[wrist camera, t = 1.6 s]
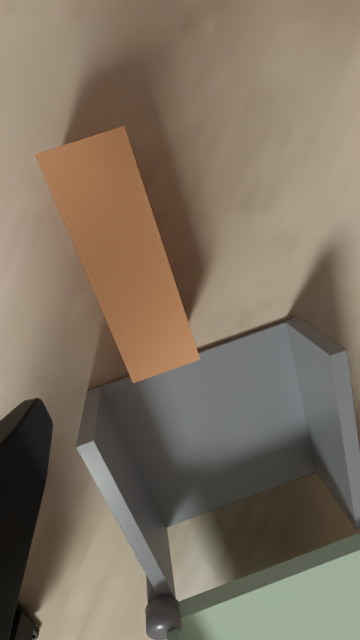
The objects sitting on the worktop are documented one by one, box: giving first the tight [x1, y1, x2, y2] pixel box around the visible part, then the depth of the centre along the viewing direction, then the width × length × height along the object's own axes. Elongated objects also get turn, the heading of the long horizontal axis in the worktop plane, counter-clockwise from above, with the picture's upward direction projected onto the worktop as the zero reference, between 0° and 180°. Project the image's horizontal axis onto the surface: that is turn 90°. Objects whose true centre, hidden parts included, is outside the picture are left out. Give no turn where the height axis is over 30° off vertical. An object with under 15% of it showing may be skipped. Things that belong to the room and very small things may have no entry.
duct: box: [76, 317, 360, 604], centre depth 24 cm, size 17×16×6 cm
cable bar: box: [35, 126, 200, 383], centre depth 19 cm, size 4×12×5 cm, turn 18°
